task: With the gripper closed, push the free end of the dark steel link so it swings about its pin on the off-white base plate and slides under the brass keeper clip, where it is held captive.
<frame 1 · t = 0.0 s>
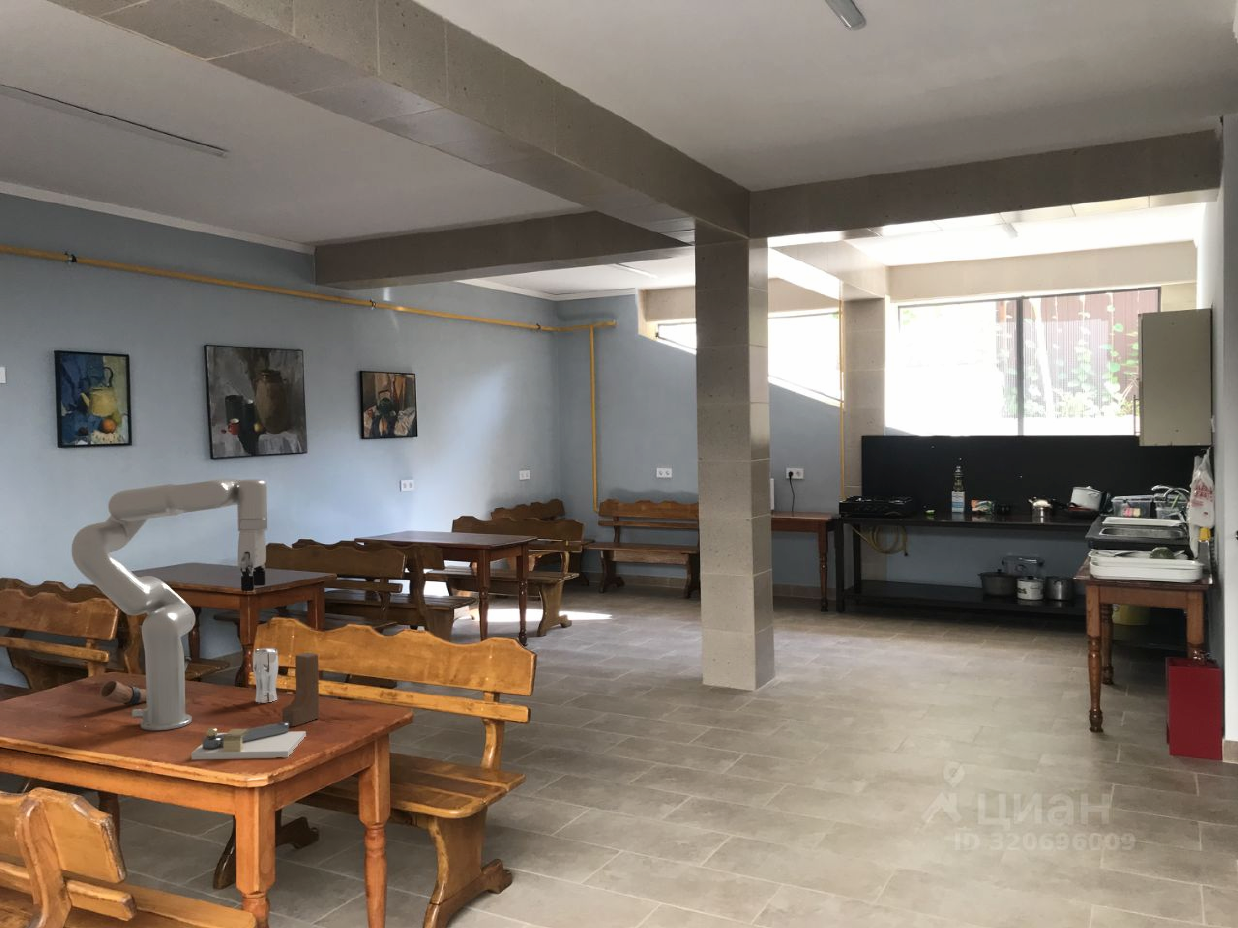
hand: (253, 588, 268), 37 cm above the table, tool pointing down, fingers open, 9 cm apart
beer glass: (266, 701, 291), on the table
wooden block: (301, 722, 270), on the table
keeper: (236, 753, 243), resting on base plate
link: (246, 734, 249), point 3 cm above the table, hinge at 40.0°
drinking horn: (149, 701, 293), on the table
base plate: (250, 747, 248), on the table
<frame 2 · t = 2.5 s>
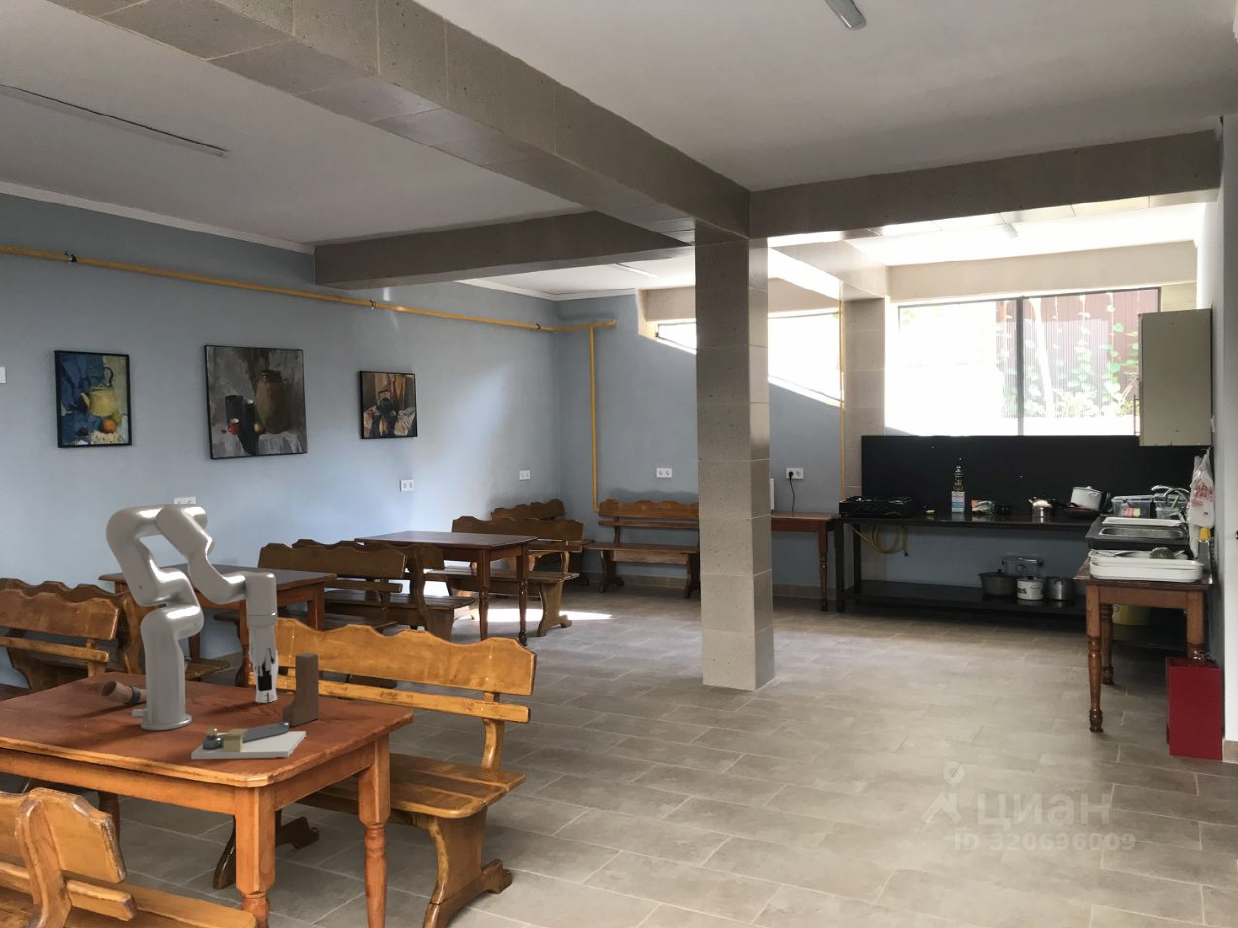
hand: (265, 689, 259), 12 cm above the table, tool pointing down, fingers closed
nothing on the table moved.
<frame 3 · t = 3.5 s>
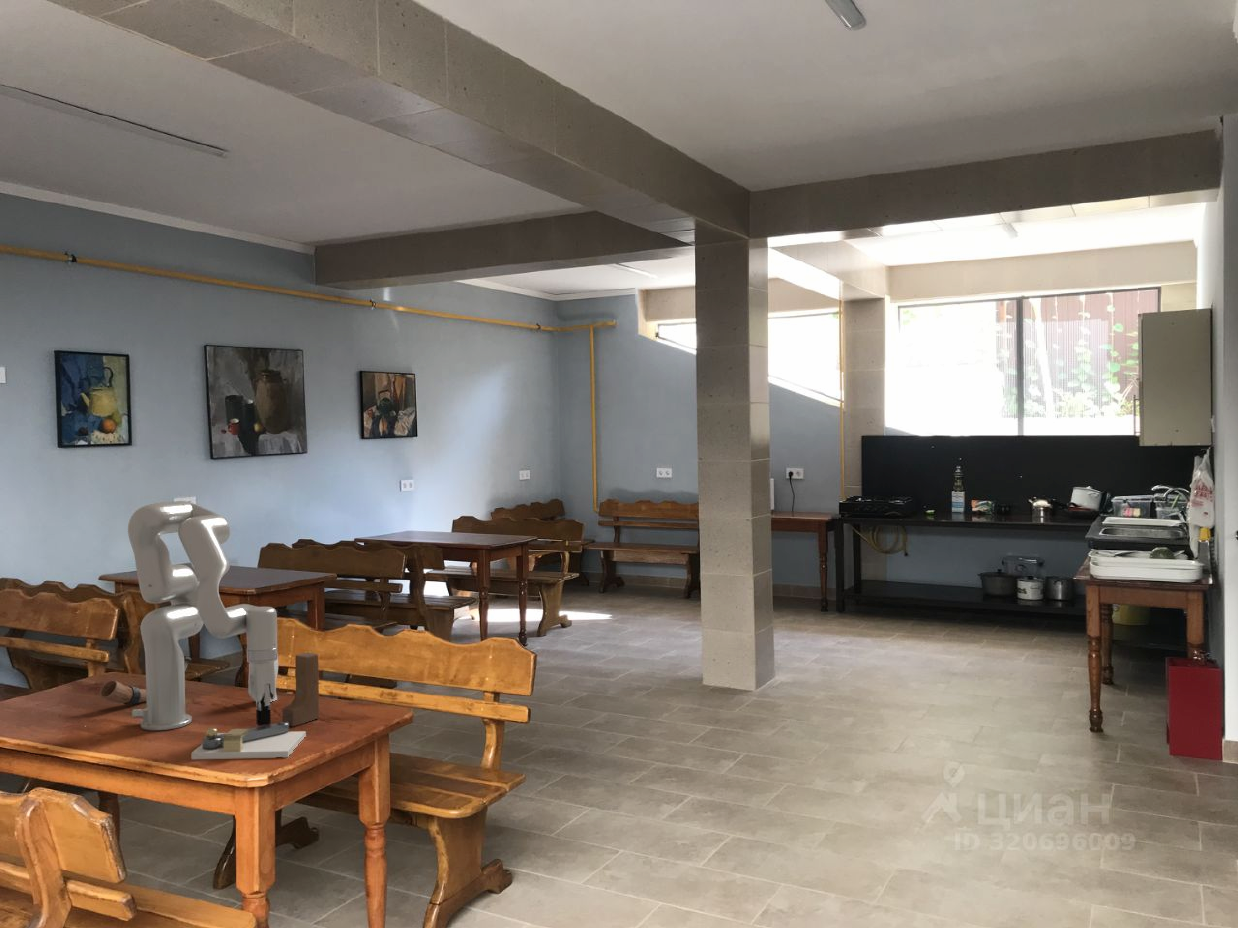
hand: (263, 724, 260), 2 cm above the table, tool pointing down, fingers closed
nothing on the table moved.
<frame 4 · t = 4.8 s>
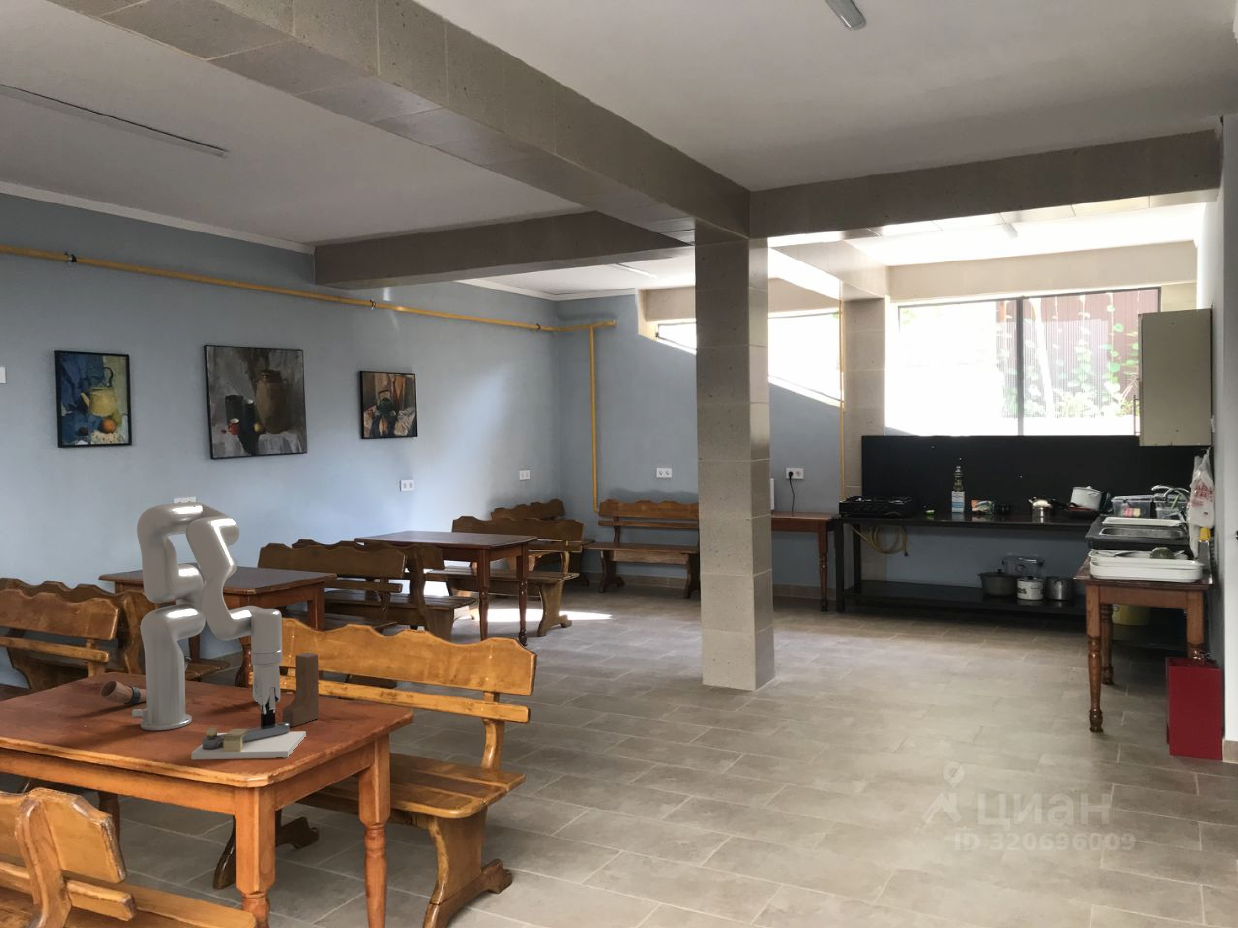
hand: (268, 728, 256), 3 cm above the table, tool pointing down, fingers closed
link: (247, 735, 249), point 3 cm above the table, hinge at 38.6°, touching gripper
everything else where it was.
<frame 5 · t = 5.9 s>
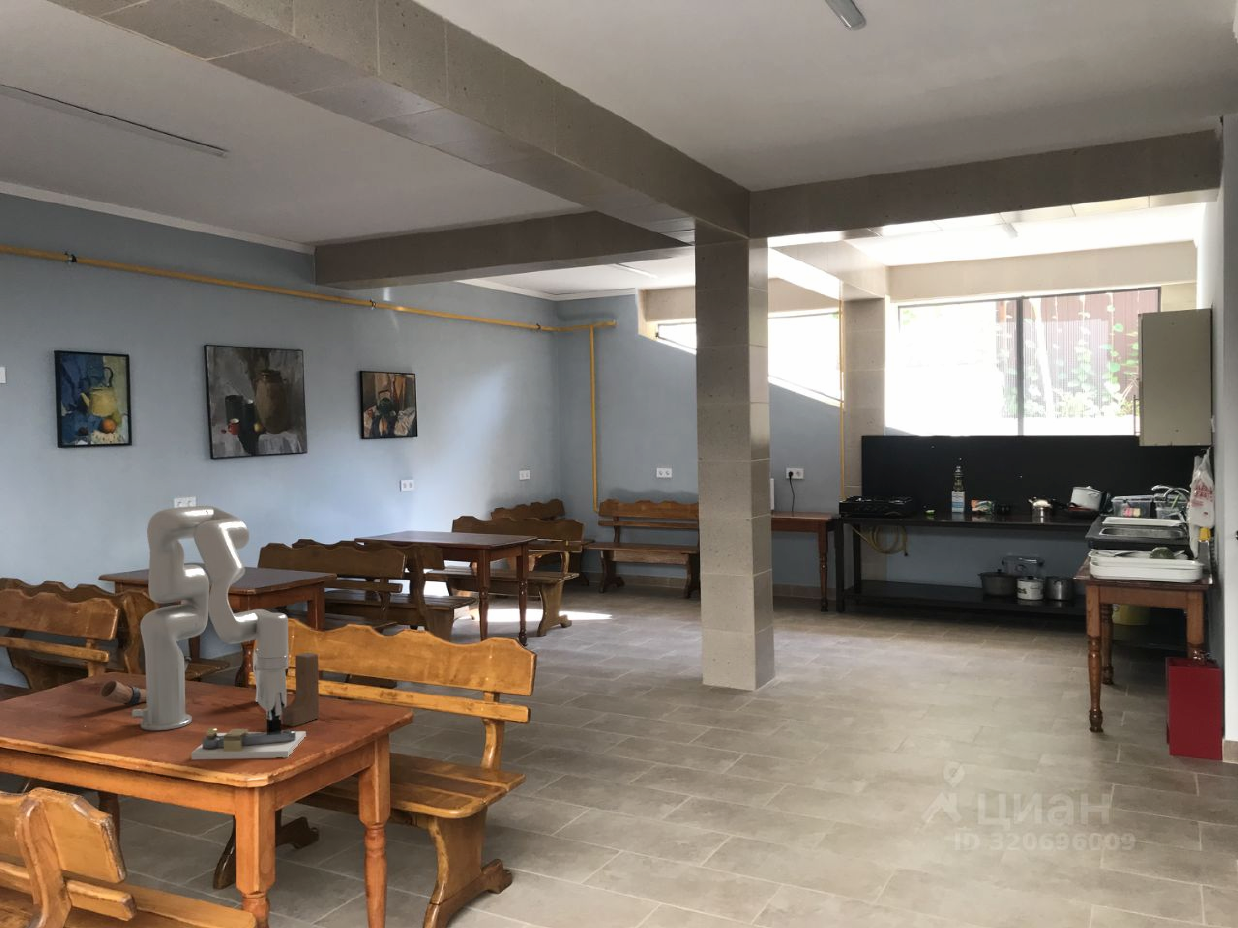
hand: (273, 734, 251), 2 cm above the table, tool pointing down, fingers closed
link: (249, 738, 246), point 3 cm above the table, hinge at 14.2°, touching gripper
everything else where it was.
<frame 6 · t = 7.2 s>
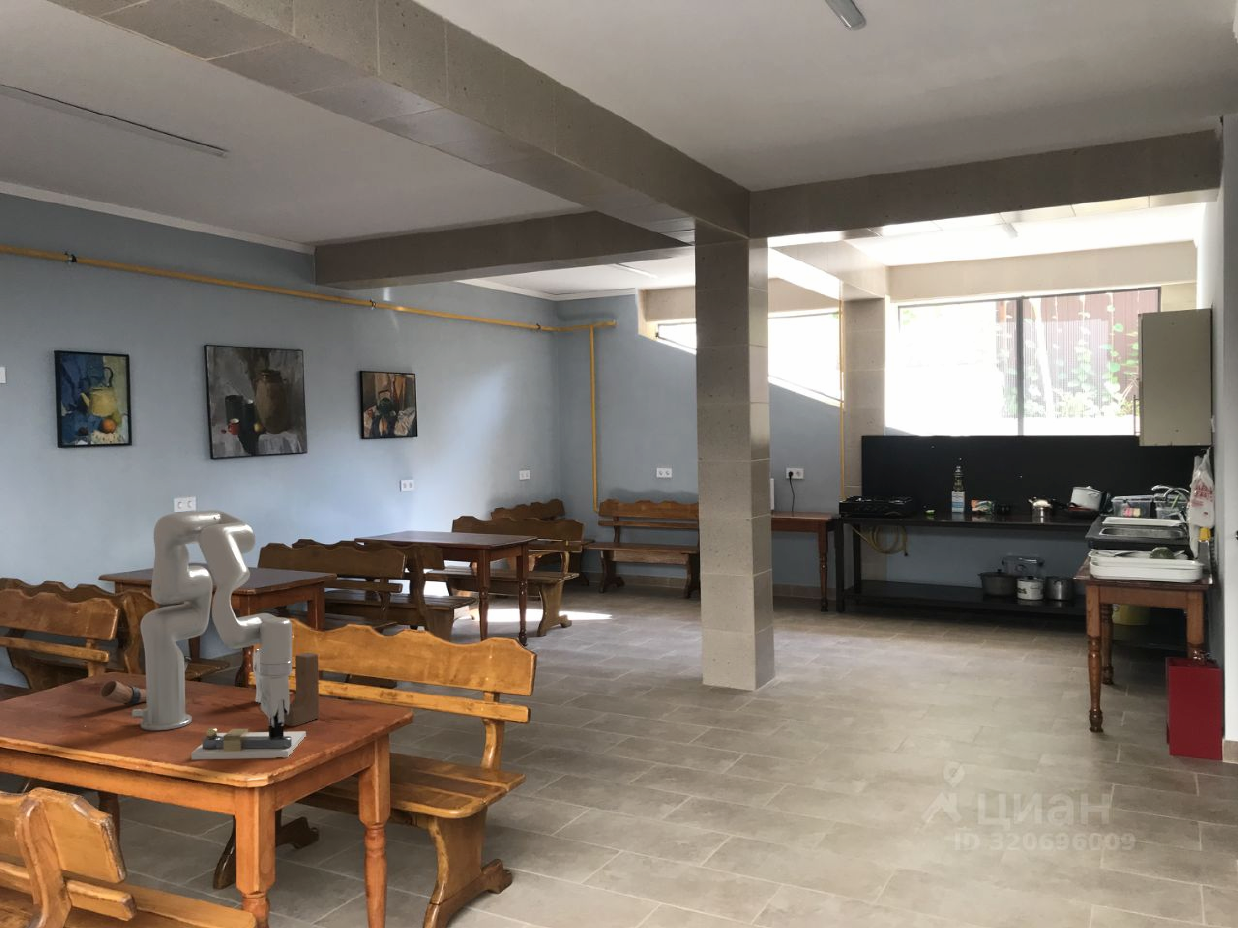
hand: (276, 740, 247), 2 cm above the table, tool pointing down, fingers closed
link: (247, 742, 243), point 3 cm above the table, hinge at -3.2°, touching gripper
everything else where it was.
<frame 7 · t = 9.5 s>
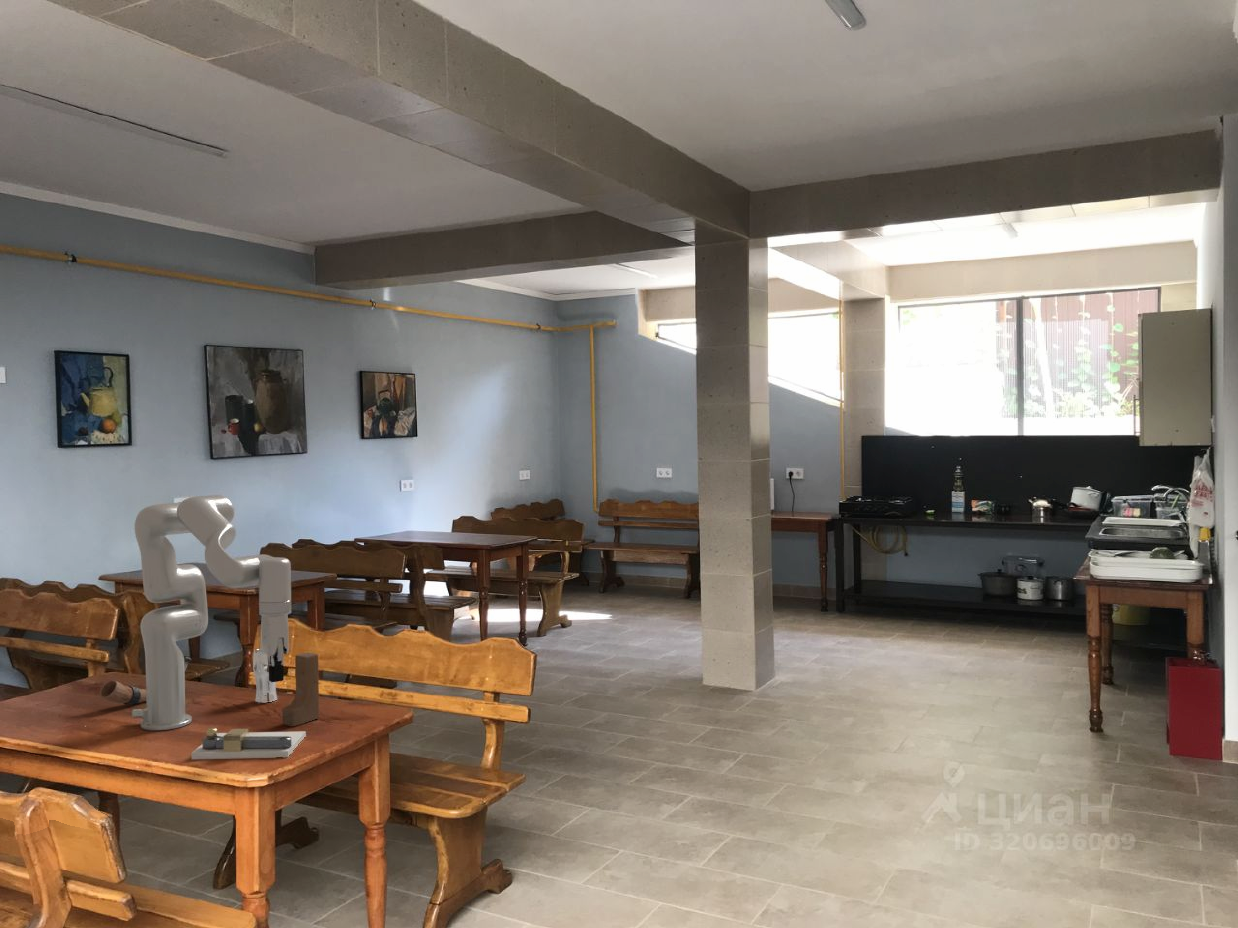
hand: (276, 680, 247), 17 cm above the table, tool pointing down, fingers closed
link: (247, 742, 243), point 3 cm above the table, hinge at -3.4°
everything else where it was.
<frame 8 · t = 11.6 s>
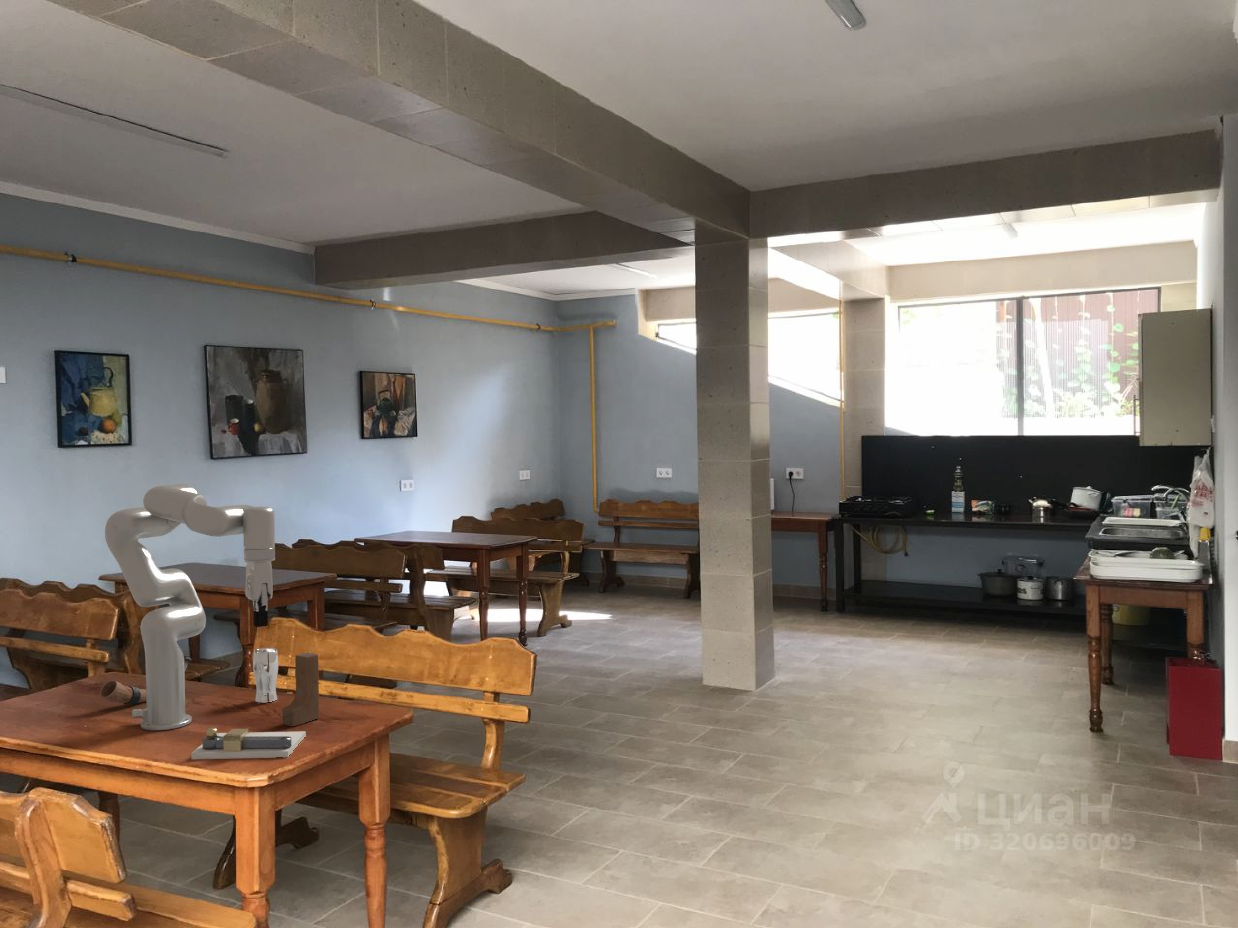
hand: (260, 625, 255), 29 cm above the table, tool pointing down, fingers closed
nothing on the table moved.
at the end: link at -3° (first picture: +40°) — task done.
